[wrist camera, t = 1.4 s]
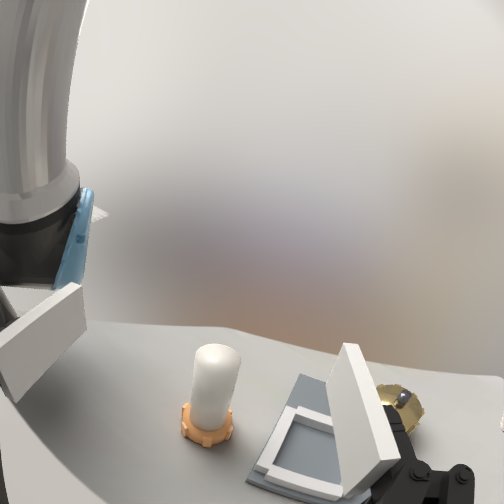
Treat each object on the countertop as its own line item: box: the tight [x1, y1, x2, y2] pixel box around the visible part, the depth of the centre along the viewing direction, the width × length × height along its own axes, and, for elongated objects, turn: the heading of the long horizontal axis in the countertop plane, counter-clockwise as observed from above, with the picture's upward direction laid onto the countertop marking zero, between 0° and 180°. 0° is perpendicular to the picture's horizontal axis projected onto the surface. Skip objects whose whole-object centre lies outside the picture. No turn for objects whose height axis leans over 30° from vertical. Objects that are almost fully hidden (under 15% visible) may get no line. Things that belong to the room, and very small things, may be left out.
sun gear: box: [376, 384, 424, 436], centre depth 28 cm, size 8×8×6 cm
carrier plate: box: [246, 374, 371, 504], centre depth 26 cm, size 18×19×2 cm
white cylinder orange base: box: [181, 344, 241, 447], centre depth 25 cm, size 6×6×12 cm
